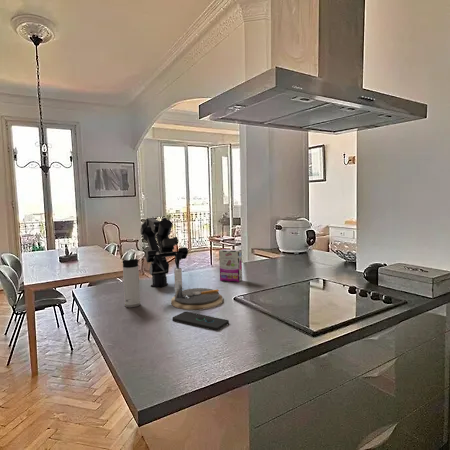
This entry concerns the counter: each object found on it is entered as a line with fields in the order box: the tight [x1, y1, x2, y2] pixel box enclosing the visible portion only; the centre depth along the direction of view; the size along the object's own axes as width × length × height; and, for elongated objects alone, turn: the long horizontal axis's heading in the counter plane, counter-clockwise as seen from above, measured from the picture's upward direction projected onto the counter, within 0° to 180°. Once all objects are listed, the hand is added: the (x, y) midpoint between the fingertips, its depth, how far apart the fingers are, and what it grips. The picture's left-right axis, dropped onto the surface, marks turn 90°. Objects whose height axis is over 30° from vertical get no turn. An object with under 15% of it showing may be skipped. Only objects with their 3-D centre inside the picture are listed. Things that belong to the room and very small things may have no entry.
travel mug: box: [122, 258, 141, 308], centre depth 146 cm, size 6×7×20 cm
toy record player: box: [173, 267, 220, 305], centre depth 150 cm, size 20×19×14 cm
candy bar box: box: [218, 248, 243, 283], centre depth 183 cm, size 11×5×16 cm, turn 68°
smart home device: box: [171, 311, 230, 332], centre depth 126 cm, size 8×2×20 cm
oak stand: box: [170, 293, 223, 311], centre depth 150 cm, size 22×22×1 cm
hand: (171, 270), depth 155 cm, fingers open, 6 cm apart
